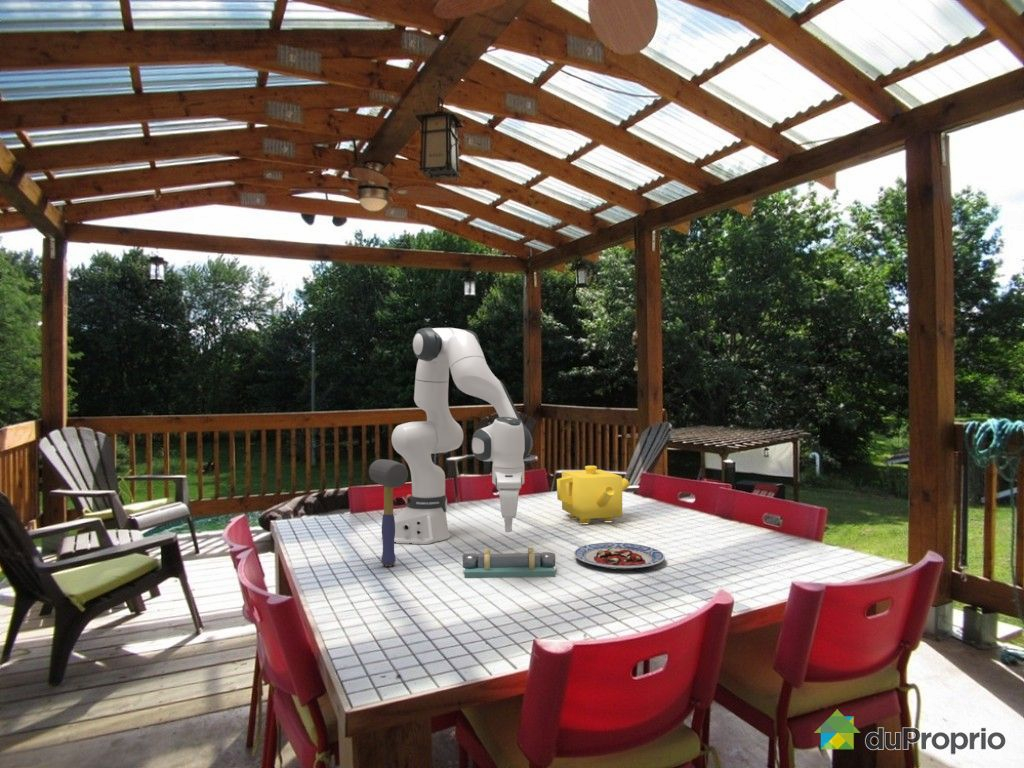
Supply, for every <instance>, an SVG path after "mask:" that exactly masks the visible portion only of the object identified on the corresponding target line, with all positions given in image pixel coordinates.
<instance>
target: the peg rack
mask: <svg viewBox="0 0 1024 768" xmlns="http://www.w3.org/2000/svg"><path fill="white" fill-rule="evenodd" d="M527 553H530V554H529V567H515V568H490V554H491V548H489V547H487V548H486V547H485V548H484V553H483V554H484V568H475V569H465V568H464V572H463V573H464V575H463V576H464V579H477V578H478V579H481V578H482V579H483V578H487V579H488V578H494V579H495V578H539V577H540V578H541V577H543V578H544V577H545V578H549V577H550V578H551V577H556V571H555V567H551V568H544V567H535V554H534V553H535V552H534V548H533V547H527Z"/></svg>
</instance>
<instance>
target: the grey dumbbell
mask: <svg viewBox="0 0 1024 768" xmlns="http://www.w3.org/2000/svg"><path fill="white" fill-rule="evenodd" d="M533 553H534V554H535V567H544V568H551V567H554V568H555V567H556V553H554V552H551V551H549V552H548V551H545V552H533ZM484 554H485V553H472V552H471V553H470V552H469V553H464V554H463V555H462V568H463V569H464V570H465V569H475V568H484ZM529 554H530V553H528V552H524V553H521V552H515V553H512V552H511V553H490V568H515V567H529Z"/></svg>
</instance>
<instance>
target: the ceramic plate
mask: <svg viewBox="0 0 1024 768" xmlns="http://www.w3.org/2000/svg"><path fill="white" fill-rule="evenodd" d="M573 554H574V556H575V558H576V559H577V560H579V561H581V562H583V563H587V564H589V565H592V566H596V567H600V566H602V567H601V568H604V567H608V568H607V569H610V568H616V569H615V570H634V569H633V568H636V569H640V568H645V567H646V568H647V567H652V566H655V565H658V564H661V563H662V562H663V561H665V556H666V555H665V553H664V552H662V551H660V549H657V548H654V547H651V546H648V545H644V544H637V543H631V542H600V543H599V542H598V543H597V542H596V543H591V544H586V545H583V546H580V547H578V548H577V549H576V550H575V551H574V553H573Z"/></svg>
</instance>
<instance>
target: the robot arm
mask: <svg viewBox="0 0 1024 768" xmlns="http://www.w3.org/2000/svg"><path fill="white" fill-rule="evenodd" d="M412 351H413V353H414V355H415V356H416V359H418V360H417V363H416V369H415V378H414V379H415V380H414V393H413V400H414V403H415V405H416V406H417V407H418V408H419V409H420V410H423V411H424V412H425V414H426V420H421V421H410V422H405V423H401V424H398V425H397V426H395V428H394V429H393V431H392V433H391V444H392V447H393V449H394V451H396V453H397V454H399V455H400V456H401V457H402V458H403V459H404V460H405V462H406V463H407V465H408V467H409V468H408V469H409V470H410V471H409V472H410V477H411V494H407V495H406V497H405V506H406V507H404V508H403V509H402V510H400V511H399V512H398V513H397V514H395V515H394V520H395V538H394V542H396V543H395V544H409V543H412V544H415V545H419V544H420V545H429V544H433V543H436V542H440V541H444V540H445V541H446V540H448V539H449V538H450V537H451V533H450V530H449V526H448V520H447V510H448V497H447V494H446V474H445V471H444V470H443V469H442V467H440V466H439V465H438V464H436V463H435V464H434V462H433V460H432V454H439V453H440V454H443V453H448V452H451V451H455V450H457V449H459V448H460V447H461V446H462V444H463V441H464V431H463V429H462V426H461V425H460V423H458V422H457V421H456V420H455V419H454V417H453V416H452V414H451V411H450V407H449V379H450V374H451V377H452V381H453V383H454V384H455V386H456V388H457V389H458V390H459V391H461V392H462V393H464V394H466V395H469V396H472V397H475V398H478V399H481V400H483V401H485V402H487V403H489V404H490V405H491V406H492V407H493V408H494V409H495V412H496V413H497V415H498V417H496V418H495V419H494V421H493V422H492V423H491V424H489V425H488V426H484V427H482V428H478V429H477V430H476V431H475V432H474V433H473V435H472V437H471V441H470V447H471V448H470V449H471V452H472V454H473V456H474V457H475V458H476V459H477V460H478V461H482V462H492V468H491V474H492V475H491V476H492V477H491V481H492V482H491V483H492V484H494V485H495V487H496V490H497V491H498V495H499V503H500V513H501V517H502V518H503V519H504V522H503V523H504V530H505V531H504V532H506V533H512V531H513V527H512V525H513V519H515V518H517V517H516V516H517V512H518V511H517V510H518V505H519V503H518V501H519V493H520V490H521V488H522V485H524V484H525V462H524V460H525V459H526V458H527V457H528V456H529V454H530V453H531V452H532V450H533V449H532V448H533V444H534V442H533V441H534V440H533V437H532V435H531V434H532V433H531V432H530V431H529V429H528V428H527V426H526V425H525V424H524V422H523V420H522V418H521V417H520V416H521V415H520V414H519V413H518V410H517V409H516V406H515V404H514V402H513V399H512V398H511V395H510V394H509V392H508V389H507V388H506V385H504V383H503V382H502V381H501V380H500V379H498V377H497V376H495V374H494V373H493V372H492V371H491V369H490V367H489V365H488V364H487V361H486V358H485V355H484V352H483V349H482V348H481V345H480V339H479V337H478V335H477V333H476V332H475V331H472V330H470V329H466V328H464V329H461V328H454V327H434V328H433V327H423V328H420V329H417V331H416V333H415V334H414V336H413V338H412ZM382 540H383V539H382V538H381V541H382ZM412 544H411V545H412Z"/></svg>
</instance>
